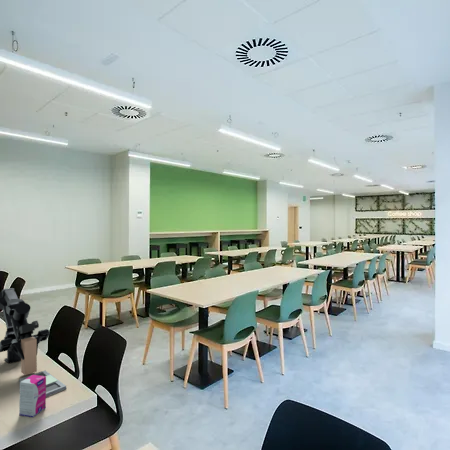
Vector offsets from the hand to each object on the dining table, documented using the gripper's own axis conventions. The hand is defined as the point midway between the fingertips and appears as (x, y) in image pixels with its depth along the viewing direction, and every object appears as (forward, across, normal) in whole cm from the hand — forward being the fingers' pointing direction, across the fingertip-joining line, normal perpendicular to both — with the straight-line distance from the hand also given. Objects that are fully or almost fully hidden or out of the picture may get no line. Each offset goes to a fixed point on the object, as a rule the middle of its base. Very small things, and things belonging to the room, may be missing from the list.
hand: (30, 357), depth 135 cm
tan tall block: (+4, 0, +6) cm, 7 cm away
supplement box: (+27, -9, -15) cm, 32 cm away
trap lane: (+14, 0, -3) cm, 15 cm away
